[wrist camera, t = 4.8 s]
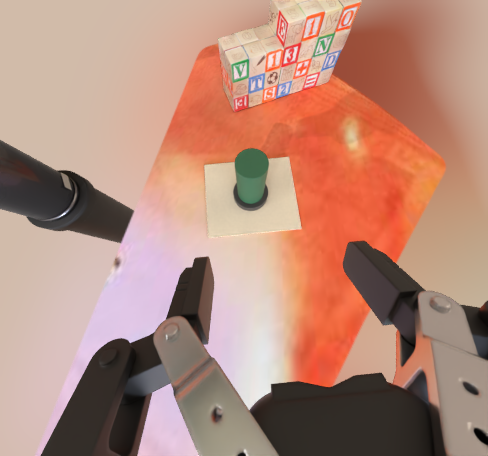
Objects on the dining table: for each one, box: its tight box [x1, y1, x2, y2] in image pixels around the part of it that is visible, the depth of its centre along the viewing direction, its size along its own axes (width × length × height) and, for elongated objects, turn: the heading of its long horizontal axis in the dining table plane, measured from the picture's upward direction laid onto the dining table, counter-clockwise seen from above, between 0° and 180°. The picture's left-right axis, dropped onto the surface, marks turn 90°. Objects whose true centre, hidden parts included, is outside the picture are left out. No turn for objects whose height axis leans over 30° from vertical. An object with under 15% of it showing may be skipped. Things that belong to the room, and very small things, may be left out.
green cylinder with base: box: [233, 148, 269, 211], centre depth 29 cm, size 6×6×10 cm
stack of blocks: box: [218, 0, 361, 112], centre depth 34 cm, size 21×6×12 cm, turn 111°
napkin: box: [204, 157, 302, 238], centre depth 34 cm, size 16×14×1 cm
